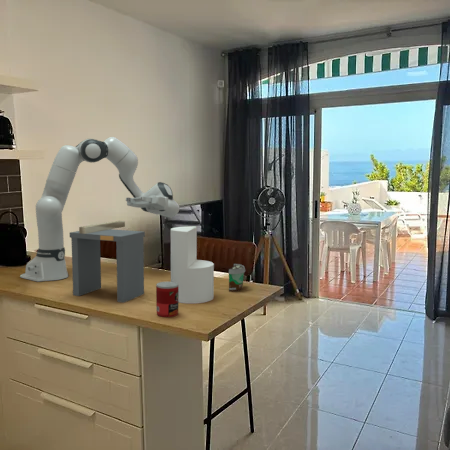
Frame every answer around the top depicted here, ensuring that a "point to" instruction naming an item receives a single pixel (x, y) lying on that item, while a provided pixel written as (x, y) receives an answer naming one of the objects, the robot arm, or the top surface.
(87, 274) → the grey step stool
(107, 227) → the bar
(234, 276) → the food container
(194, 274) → the white stepped pillar
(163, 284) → the canned food
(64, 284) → the top surface
